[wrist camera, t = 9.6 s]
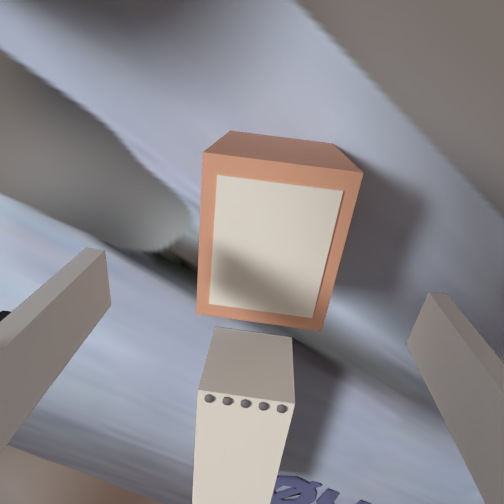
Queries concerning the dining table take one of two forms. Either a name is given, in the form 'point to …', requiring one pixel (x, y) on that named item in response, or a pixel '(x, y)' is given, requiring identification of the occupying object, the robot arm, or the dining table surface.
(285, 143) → the tan box
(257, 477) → the pad
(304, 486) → the signage
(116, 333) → the dining table surface
